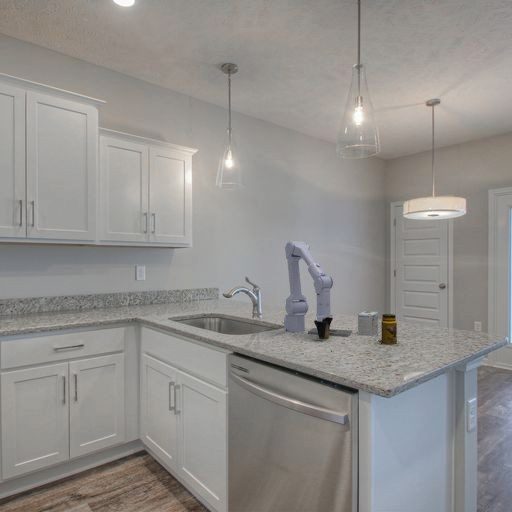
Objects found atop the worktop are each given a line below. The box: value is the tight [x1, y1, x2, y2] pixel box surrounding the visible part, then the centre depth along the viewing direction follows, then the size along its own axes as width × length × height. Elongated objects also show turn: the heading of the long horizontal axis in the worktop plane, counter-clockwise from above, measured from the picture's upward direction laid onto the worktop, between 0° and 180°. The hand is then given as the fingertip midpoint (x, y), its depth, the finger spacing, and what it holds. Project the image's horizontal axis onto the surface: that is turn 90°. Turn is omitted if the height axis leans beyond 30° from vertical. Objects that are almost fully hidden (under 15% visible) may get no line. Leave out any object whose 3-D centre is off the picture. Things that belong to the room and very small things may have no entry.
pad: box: [310, 335, 338, 342], centre depth 160 cm, size 10×7×2 cm
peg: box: [319, 324, 330, 339], centre depth 160 cm, size 4×4×6 cm
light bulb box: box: [357, 311, 379, 337], centre depth 171 cm, size 11×7×11 cm, turn 149°
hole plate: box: [307, 327, 353, 338], centre depth 171 cm, size 18×10×3 cm, turn 66°
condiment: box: [375, 313, 400, 346], centre depth 157 cm, size 7×8×12 cm
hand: (323, 335), depth 160 cm, fingers open, 7 cm apart
